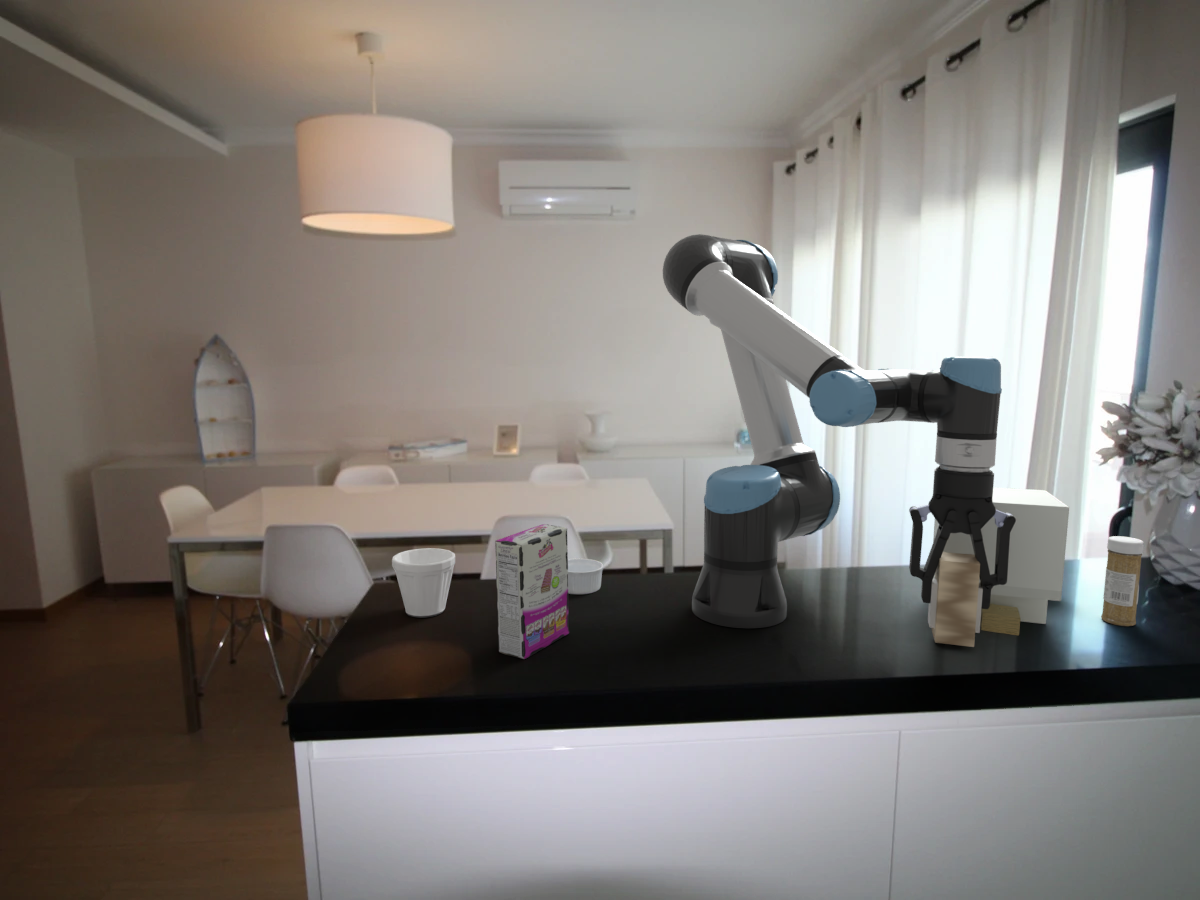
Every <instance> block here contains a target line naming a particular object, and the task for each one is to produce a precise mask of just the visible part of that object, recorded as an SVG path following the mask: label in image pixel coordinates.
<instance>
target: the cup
mask: <svg viewBox="0 0 1200 900" xmlns="http://www.w3.org/2000/svg"><path fill="white" fill-rule="evenodd" d="M455 565H456V553H455V552H453V551H451V550H449V549H443V548H434V547H431V548H430V547H427V548H426V547H425V548H415V549H409V550H404V551H401V552H398V553H396V554H395V555H393V556H392V559H391V567H392V568H393V570H394V572H395V575H396V578H397V582H398V586H399V591H400V593H401V597H402V598H401V599H402V601H403V606H404V608H405V613H406V615H407V616H409V617H413V618H418V619H419V618H421V619H422V618H423V619H424V618H432V617H436V616H438V615H441V614H442V613H443V612H444V611H445V609H446V605H447V599H448V596H449V592H450V591H449V590H450V586H451V583H452V577H453V572H454V566H455Z"/></svg>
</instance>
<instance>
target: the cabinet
mask: <svg viewBox="0 0 1200 900" xmlns="http://www.w3.org/2000/svg"><path fill="white" fill-rule="evenodd" d="M992 501H993V504H994V506H995V509H996V510H999V511H1001V512H1004V513H1007V512H1008V513H1011V514H1012V515H1013V516H1014V517H1015V519H1016V522H1015V524H1014V526H1013V528H1012V530H1011V532H1010V542H1009V559H1008V575H1007V583H1006V584H1005V585H995V586H993V588H992V589H991V598H990V604H995V605H1003V606H1010V607H1017V608H1018V611H1019V614H1020V622H1024V623H1033V624H1042V625H1046V624H1047V614H1048V613H1047V612H1048V604H1049V601H1055V602H1061V601H1062V594H1063V582H1064V573H1065V571H1064V570H1065V561H1066V552H1067V551H1066V549H1067V539H1068V538H1067V537H1068V528H1069V527H1068V525H1069V516H1070V506H1068V505H1067V504H1066V503H1065V502H1063V501H1061V500H1060V499H1058V498H1057V497H1056V496H1054V495H1053V494H1052V493H1050V492H1048V491H1047V490H1045V489H1029V488H1011V487H1010V488H1009V487H996V486H995V487H994V486H993V497H992ZM938 527H939V523H938V522H937V520H936V519H935V518H934V524H933V539H932V542H934V539H935V537H936V534H937V529H938ZM997 528H998V527H997V526H996V524H995V518H994V517H992V518H991V519H990V520H989V521H988V522H987V523H986V524H985V525H984V526H983V527H982V528H981V533H982V537H983V544H984V548H985V553H986V557H987V562H988V567H989V571H990V575H991V574H994V572H995V555H996V538H997ZM943 552H948V553H960V554H972V555H974V550H973V546H972V541H971V537H970V534H964V533H961V532H960V533H950V536H949V539H948V540H947V542H946V545H945V548H944V550H943ZM933 579H935V575H934V577H933ZM979 583H980V578H979Z"/></svg>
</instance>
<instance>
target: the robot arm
mask: <svg viewBox="0 0 1200 900" xmlns="http://www.w3.org/2000/svg"><path fill="white" fill-rule="evenodd" d="M775 261H776V260H775V259H774V257H773V256H772V254H771V253H770V251H768V250H767V249H766V248H764V247H763V246H761V245H760V244H756V243H754V242H751V241H748V240H745V239H731V238H724V237H718V236H714V235H713V236H712V235H709V234H702V233H701V234H692V235H688V236H686V237H684V238H681V239H680V240H678V241H677V242H676V243H675V244H674V245H672V247H670V248H669V251H668V252H667V254H666V255H665V258H664V262H663V265H662V280H663V283H664V287H665V288H666V290H667V292H668V293H669V295H670V296H671V297H672V298H673V299H674V301H676V302H677V303H678V304H679V305H681V307H682V308H684V309H685V310H687V311H688V312H690V314H691V315H694V316H699V317H701V316H705V317H706V318H707V319H708V320H709V323H710V324H711V325H713V326H715V327H717V328H719V329H720V331H721V335H722V339H723V343H724V347H725V350H726V353H727V358H728V361H729V365H730V368H731V373H732V376H733V381H734V384H735V387H736V391H737V395H738V398H739V403H740V407H741V410H742V414H743V417H744V422H745V426H746V429H747V432H748V436H749V440H750V443H751V448H752V451H753V452H752V453H753V454H754V456H753V460H752V461H751V462H750V464H744V465H732V466H728V467H724V468H721V469H718V470H716V471H714V472H712V473H711V474H709V476H708V477H707V480H706V484H705V494H704V497H703V505H704V519H703V520H704V524H703V525H704V527H703V530H704V533H703V534H704V536H703V537H704V538H703V564H702V565H703V566H702V567H701V570H700V574H699V576H698V578H697V579H698V580H697V582H696V584H695V587H694V590H693V593H692V597H691V599H692V600H691V611H692V613H693V614H694V616H695V617H697V618H698V619H701V620H703V621H705V622H706V623H707V622H708V623H711V624H714V625H716V626H717V625H718V626H721V627H727V628H736V629H763V628H768V627H773V626H776V625H778V624H782V622H784V621H785V620H786V618H787V615H788V603H787V601H788V600H787V598H786V594H785V591H784V588H783V585H782V584H783V583H782V581H781V578H780V574H779V570H778V549H779V542H783V541H787V540H792V539H795V538H798V537H805V536H810V535H813V534H814V533H816V532H818V531H821V530H823V529H825V528H826V527H827V526H829V525H830V524H831V523H832V522H833V520H834V519H835V517H836V515H837V513H838V511H839V507H840V502H841V493H840V487H839V484H838V482H837V479H836V478H835V476H834V475H833V473H831V472H830V471H827V468H825V467H823V466H821V465H820V463H819V460H818V456H817V453H816V450H814V449H813V448H811V447H810V446H808V445H806V443H805V444H804V440H803V438H802V437H803V436H802V434H801V430H800V427H799V422H798V418H797V416H796V411H795V408H794V405H793V400H792V398H791V393H790V390H789V386H788V383H790V384H791V385H792V386H794V388H796V389H797V390H798V391H800V392H801V393H802V394H803V395H805V396H806V397H807V398H809V406H810V407H811V411H812V412H813V414H814V417H816V419H817V420H818V421H820V422H821V423H823V424H825V425H827V426H832V427H841V428H849V427H850V428H851V427H856V426H857V427H858V426H861V425H862V426H863V425H868V424H870V425H871V424H879V423H888V422H917V423H918V422H919V423H920V422H921V423H932V424H934V423H936V444H935V455H934V457H935V459H934V462H935V463H936V464H937V465H939V466H936V468H935V469H934V471H933V473H934V474H933V487H932V489H933V490H932V496H931V499H930V500H929V501H928V504H924V505H921V506H918V507H917V506H916V505H915V506H914V505H912V506H910V507H909V510H908V512H909V514H910V515H909V516H910V518H911V520H912V527H911V528H912V530H911V542H910V555H909V568H908V569H909V573H910V575H911V576H912V577H915V578H918V579H920V580H921V591H920V592H921V593H920V594H921V595H920V597H921V600H922V602H923V603H925V604H928V609H927V624H928V627H929V628H931V629H932V628H935V620H936V605H937V590H938V583H937V580H936V579H933V577H934V575H935V572H936V569H937V567H938V564H939V558H941V556H942V553H943V550H944V548H945V545H946V542H947V540H948V539H949V536H950V533H960V532H961V533H964V534H970V537H971V541H972V546H973V550H974V555H975V558H976V560H977V561H978V562H979V563H980V574H979V578H980V583H979V588H978V601H977V614H976V628H975V634H980V632H981V624H980V620H981V609H989V607H990V598H991V589H992V588H993V586H995V585H1005V584H1006V583H1007V575H1008V559H1009V542H1010V532H1011V530H1012V528H1013V526H1014V524H1015V522H1016V519H1015V517H1014V516H1013V515H1012V514H1011V513H1008V512H1007V513H1004V512H1001V511H999V510H996V509H995V506H994V504H993V501H992V497H993V487H994V482H995V481H994V480H995V472H993V470H992V469H991V468H993V467H995V466H996V454H997V453H996V452H997V437H998V427H999V415H1000V403H1001V394H1002V390H1003V389H1002V364H1001V362H1000V361H999V359H997V358H995V357H993V356H947V357H944V358H943V359H942V360H941V365H940V368H939V369H936V370H933V369H932V370H918V369H917V370H916V369H893V368H878V369H869V370H867V369H863V368H861V366H859V365H857V364H856V363H854V362H853V361H851V360H850V359H848V358H847V357H846V356H844V355H843V354H842V353H841V352H839V351H838V350H837V349H835V348H834V347H832V346H831V345H829V344H828V343H826V342H825V341H824V340H823V339H821V338H820V337H818V336H817V335H815V334H814V333H813V332H811V331H810V330H808V329H807V328H806V327H804V326H803V325H801V324H800V323H799V322H797V321H796V320H794V319H793V318H791V316H789V315H788V314H786V312H784V311H782V310H781V309H779V308H778V307H776V306H775V305H774V303H775V302H774V299H773V296H774V294H775V291H776V288H775V287H776V285H778V281H779V274H778V272H779V271H778V267H777V264H776V262H775ZM929 514H932V516H933V517H934V520H935V519H936V520H937V522H938V523H939V527H938V529H937V534H936V537H935V539H934V542H933V541H932V542H933V543H932V545H931V547H930V550H929V552H928V555H927V559H926V562H925V564H924V566H923V568H922V567H921V557H922V549H923V548H922V545H923V533H924V525H923V524H924V522H926V521H927V520H928V515H929ZM992 517H994V518H995V524H996V526H997V527H998V528H997V538H996V555H995V572H994V574H991V575H990V571H989V567H988V562H987V557H986V553H985V548H984V544H983V537H982V533H981V528H982V527H983V526H984V525H985V524H986V523H987V522H988V521H989V520H990V519H991V518H992Z"/></svg>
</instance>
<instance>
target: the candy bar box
mask: <svg viewBox="0 0 1200 900" xmlns="http://www.w3.org/2000/svg"><path fill="white" fill-rule="evenodd" d="M494 543H495V546H494V547H495V571H496V572H495V574H496V578H495V579H496V592H497V593H496V594H497V595H496V598H497V601H496V602H497V603H496V604H497V607H496V609H497V634H498V635H497V636H498V637H497V638H498V652H499V653H501V654H503V655H506V656H511V657H514V658H518V659H522V660H525V659H527V658H529V657H531V656H533V655H534V654H536V653H538V652H539V651H541V650H543V649H545V648H547V647H548V646H550V645H553V643H555V642H557V641H558V640H561V639H562V638H563V637H566V636H567V635H569V634H570V626H569V625H570V623H569V622H570V619H569V618H570V617H569V610H570V609H569V593H568V559H569V558H568V528H567V527H563V526H559V525H558V526H557V525H550V524H545V523H544V524H540V525H537V526H534V527H531V528H528V529H525V530H522V531H519V532H516V533H513V534H510V535H507V536H505V537H502V538H499V539H496V540H495V541H494Z"/></svg>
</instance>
